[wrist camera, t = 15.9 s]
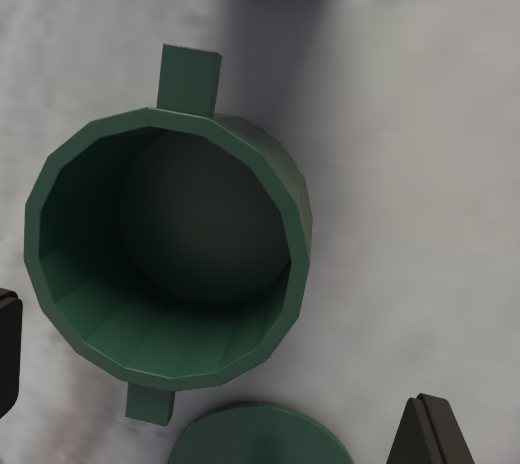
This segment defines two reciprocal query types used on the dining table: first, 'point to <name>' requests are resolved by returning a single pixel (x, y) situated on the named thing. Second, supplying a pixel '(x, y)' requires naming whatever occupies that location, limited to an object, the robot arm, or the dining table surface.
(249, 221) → the pot
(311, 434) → the pot lid
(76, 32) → the dining table surface
